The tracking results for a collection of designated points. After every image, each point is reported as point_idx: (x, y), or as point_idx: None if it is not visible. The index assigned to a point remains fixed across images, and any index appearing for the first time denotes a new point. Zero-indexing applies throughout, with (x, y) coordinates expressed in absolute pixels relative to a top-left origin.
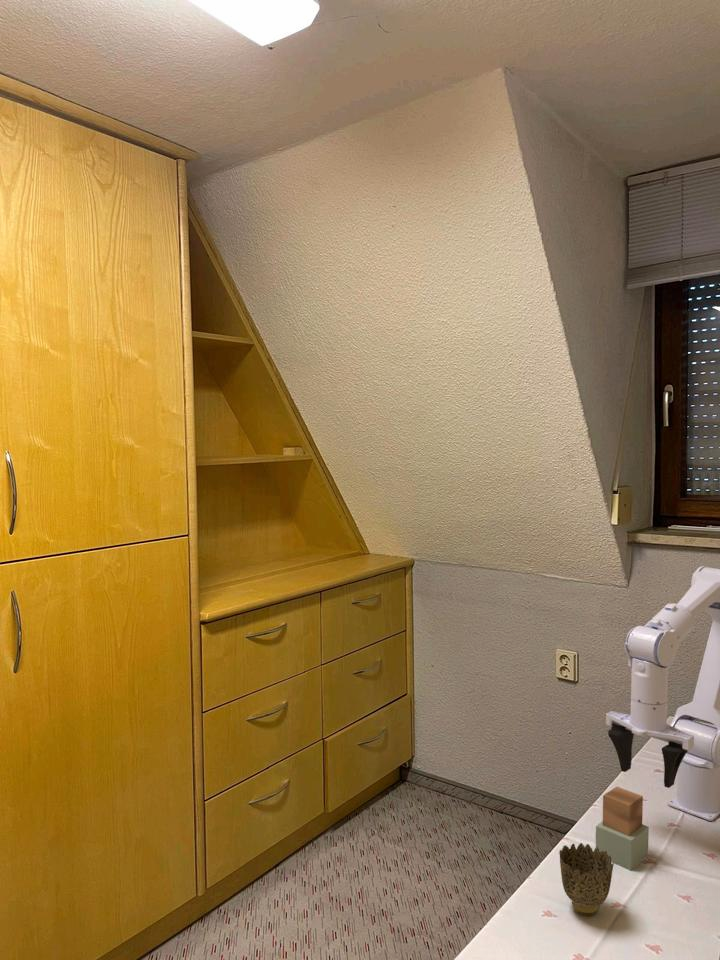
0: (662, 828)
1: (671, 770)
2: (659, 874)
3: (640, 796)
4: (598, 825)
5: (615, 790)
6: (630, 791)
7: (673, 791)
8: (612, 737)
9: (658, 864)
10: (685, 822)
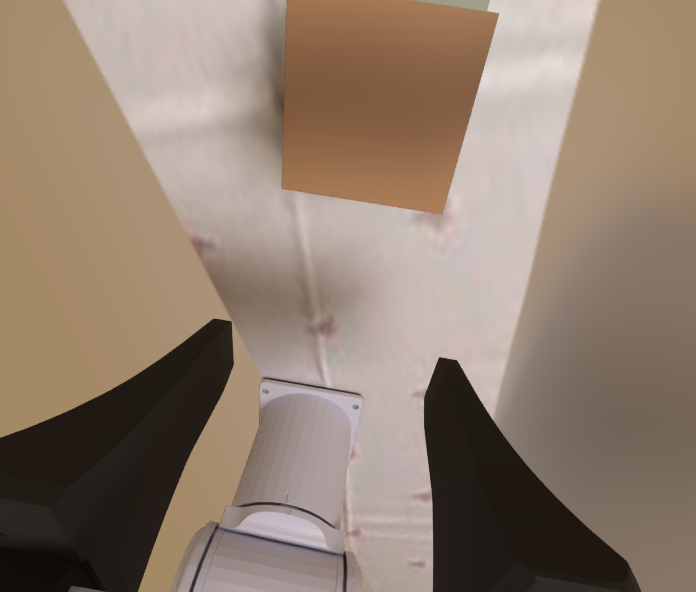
0: (336, 300)
1: (134, 377)
2: (240, 34)
3: (290, 176)
4: (482, 2)
5: (437, 156)
6: (356, 199)
7: (372, 446)
8: (580, 544)
9: (269, 100)
10: (304, 351)
